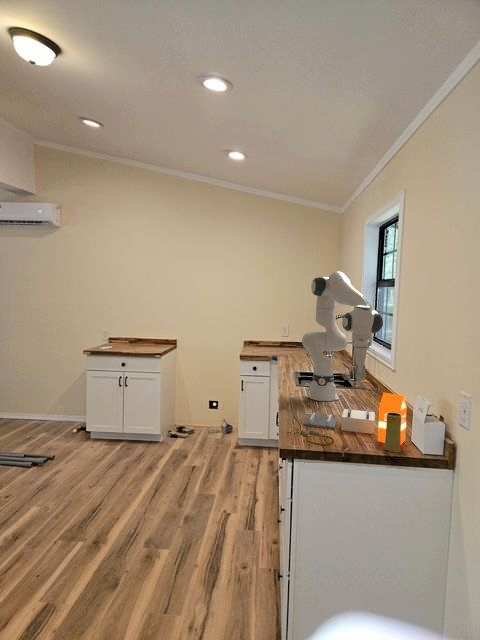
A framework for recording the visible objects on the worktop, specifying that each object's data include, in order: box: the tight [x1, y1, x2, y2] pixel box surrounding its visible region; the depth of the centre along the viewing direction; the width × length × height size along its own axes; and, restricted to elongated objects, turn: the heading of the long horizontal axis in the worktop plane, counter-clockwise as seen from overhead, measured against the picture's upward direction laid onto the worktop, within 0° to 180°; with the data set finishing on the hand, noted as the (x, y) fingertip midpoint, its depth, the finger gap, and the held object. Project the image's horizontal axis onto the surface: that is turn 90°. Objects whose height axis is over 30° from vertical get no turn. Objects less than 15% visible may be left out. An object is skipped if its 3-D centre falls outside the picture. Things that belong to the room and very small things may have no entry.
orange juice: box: [377, 391, 408, 445], centre depth 174 cm, size 8×9×20 cm
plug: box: [354, 363, 366, 379], centre depth 190 cm, size 4×4×6 cm
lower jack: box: [303, 411, 338, 430], centre depth 197 cm, size 14×14×3 cm
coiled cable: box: [300, 429, 335, 446], centre depth 175 cm, size 12×16×2 cm
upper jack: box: [340, 405, 376, 435], centre depth 192 cm, size 14×14×8 cm
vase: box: [383, 412, 402, 453], centre depth 164 cm, size 6×6×14 cm
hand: (360, 371), depth 190 cm, fingers closed on plug, 4 cm apart
